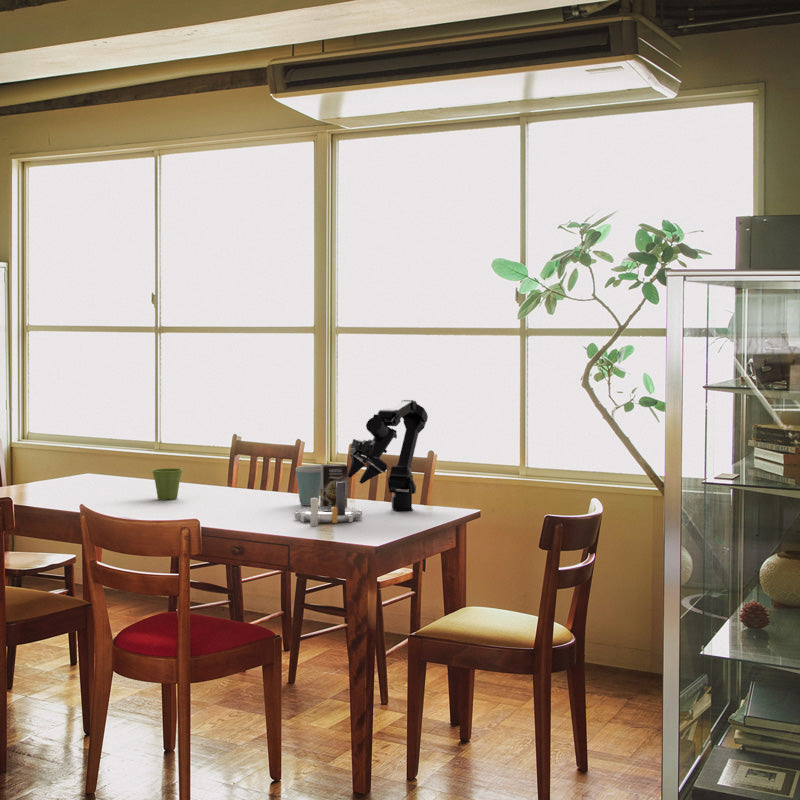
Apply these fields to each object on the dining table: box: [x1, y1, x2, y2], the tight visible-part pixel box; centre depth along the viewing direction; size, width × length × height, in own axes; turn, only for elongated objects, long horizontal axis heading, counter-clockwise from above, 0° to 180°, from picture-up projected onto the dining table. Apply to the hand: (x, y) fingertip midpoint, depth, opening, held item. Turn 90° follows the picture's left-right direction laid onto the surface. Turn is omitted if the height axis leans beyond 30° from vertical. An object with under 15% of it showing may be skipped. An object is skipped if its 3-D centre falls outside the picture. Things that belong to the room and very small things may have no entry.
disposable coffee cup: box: [295, 464, 322, 506], centre depth 362 cm, size 11×11×15 cm
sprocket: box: [294, 482, 363, 524], centre depth 333 cm, size 23×23×13 cm
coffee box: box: [319, 463, 349, 508], centre depth 353 cm, size 9×6×16 cm
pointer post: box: [310, 498, 319, 527], centre depth 320 cm, size 2×2×9 cm
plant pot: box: [151, 467, 184, 501], centre depth 374 cm, size 12×12×11 cm
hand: (354, 480), depth 334 cm, fingers open, 9 cm apart
